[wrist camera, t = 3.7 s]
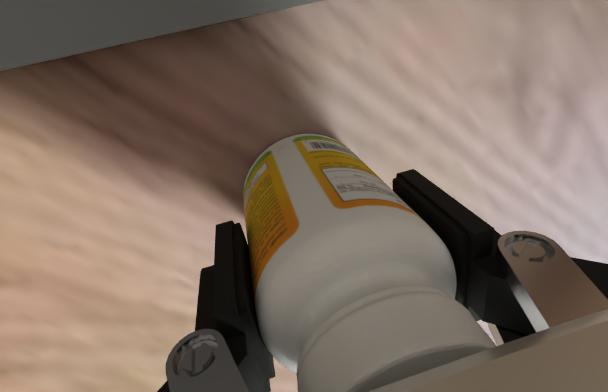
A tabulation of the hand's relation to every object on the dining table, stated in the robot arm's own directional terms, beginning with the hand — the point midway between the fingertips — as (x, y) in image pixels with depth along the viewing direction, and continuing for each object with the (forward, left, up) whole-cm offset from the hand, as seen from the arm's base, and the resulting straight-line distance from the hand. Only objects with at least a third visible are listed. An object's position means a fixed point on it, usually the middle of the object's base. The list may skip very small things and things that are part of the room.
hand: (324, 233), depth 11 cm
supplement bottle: (0, 0, -4) cm, 4 cm away
